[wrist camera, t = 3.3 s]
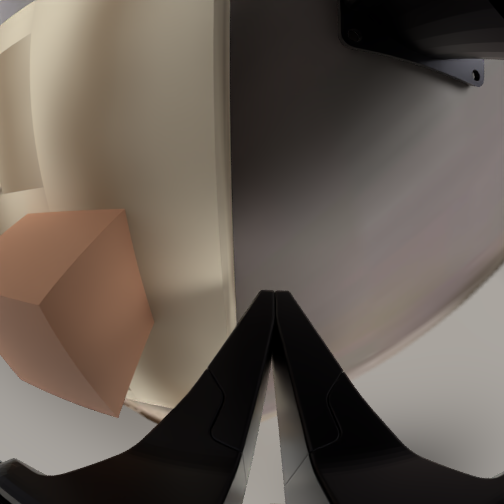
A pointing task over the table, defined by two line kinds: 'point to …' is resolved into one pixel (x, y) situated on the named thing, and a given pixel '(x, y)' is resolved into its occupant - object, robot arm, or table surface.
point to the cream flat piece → (132, 155)
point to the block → (73, 305)
